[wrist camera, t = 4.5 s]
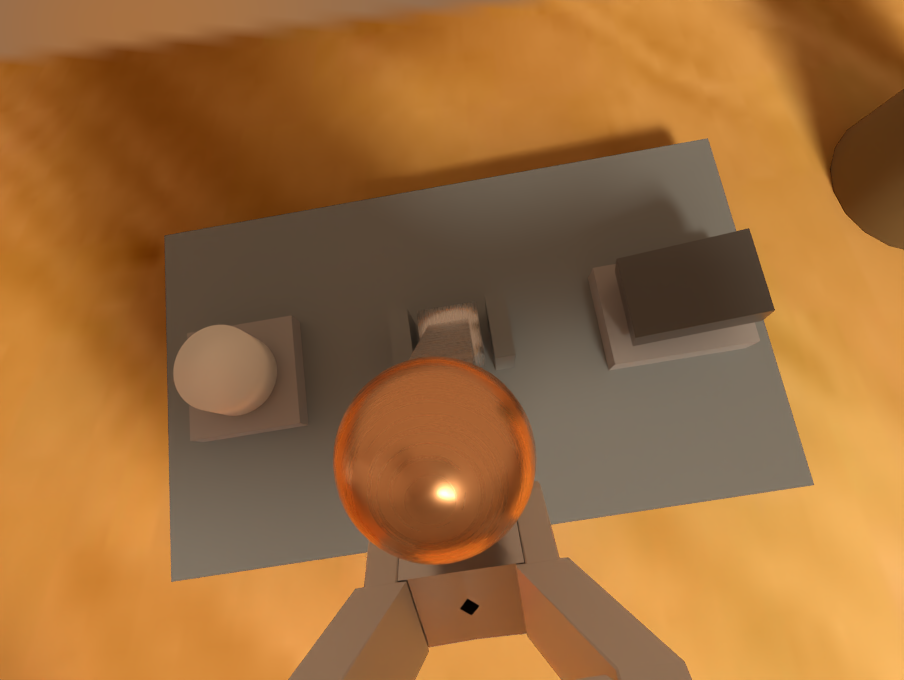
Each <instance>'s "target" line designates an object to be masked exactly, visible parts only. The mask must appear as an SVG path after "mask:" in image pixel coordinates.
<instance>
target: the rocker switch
mask: <svg viewBox="0 0 904 680" xmlns="http://www.w3.org/2000/svg"><path fill="white" fill-rule="evenodd" d="M615 275H616V279H617V283H618V287H619V291H620V296H621V300H622V304H623V308H624V312H625V316H626V320H627V325H628V329H629V333H630V337H631V341H632V345H633V346H636V345H641V344H646V343H652V342H657V341H662V340H667V339H672V338H677V337H682V336H687V335H693V334H698V333H703V332H708V331H713V330H718V329H723V328H728V327H734V326H739V325H744V324H749V323H754V322H759V321H762V320H764V319H765V318H766V317H767V316H768V315H770V314H771V313H772V312H773V311H774V310H775V309H774V306H773V303H772V300H771V297H770V293H769V290H768V287H767V284H766V281H765V278H764V274H763V271H762V268H761V265H760V262H759V258H758V255H757V252H756V249H755V246H754V242H753V239H752V236H751V233H750V230H749V228H748V229H744V230H740V231H735V232H731V233H727V234H722V235H718V236H713V237H709V238H705V239H700V240H696V241H692V242H687V243H683V244H679V245H674V246H670V247H666V248H661V249H657V250H652V251H648V252H644V253H639V254H635V255H631V256H626V257H622V258H618V259H616V266H615Z"/></svg>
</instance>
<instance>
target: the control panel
mask: <svg viewBox="0 0 904 680" xmlns="http://www.w3.org/2000/svg"><path fill="white" fill-rule="evenodd" d="M735 231H736V229H735V225H734V222H733V219H732V216H731V212H730V209H729V206H728V203H727V199H726V196H725V193H724V189H723V186H722V183H721V180H720V176H719V173H718V170H717V167H716V163H715V160H714V157H713V154H712V150H711V147H710V144H709V141H708V139H702V140H697V141H691V142H685V143H680V144H674V145H669V146H663V147H657V148H652V149H646V150H641V151H635V152H629V153H624V154H618V155H613V156H607V157H601V158H596V159H590V160H585V161H579V162H574V163H568V164H562V165H557V166H551V167H546V168H540V169H534V170H529V171H523V172H518V173H512V174H506V175H501V176H495V177H490V178H484V179H478V180H473V181H467V182H462V183H456V184H450V185H445V186H439V187H434V188H428V189H423V190H417V191H411V192H406V193H400V194H395V195H389V196H383V197H378V198H372V199H367V200H361V201H355V202H350V203H344V204H339V205H333V206H327V207H322V208H316V209H311V210H305V211H299V212H294V213H288V214H283V215H277V216H272V217H266V218H260V219H255V220H249V221H244V222H238V223H232V224H227V225H221V226H216V227H210V228H204V229H199V230H193V231H188V232H182V233H176V234H171V235H165V283H166V334H167V385H168V435H169V486H170V537H171V582H173V581H180V580H186V579H193V578H200V577H206V576H213V575H220V574H226V573H233V572H239V571H246V570H253V569H259V568H266V567H273V566H279V565H286V564H293V563H299V562H306V561H312V560H319V559H326V558H332V557H339V556H346V555H352V554H359V553H366V552H368V543H369V540H368V539H367V538H366V537H365V536H364V535H363V534H362V533H361V532H360V531H359V530H358V529H357V527H356V526H355V525H354V524H353V522H352V521H351V520H350V518H349V516H348V515H347V513H346V511H345V509H344V507H343V505H342V503H341V500H340V498H339V494H338V491H337V487H336V484H335V479H334V471H333V452H334V445H335V438H336V434H337V431H338V427H339V425H340V422H341V420H342V418H343V415H344V413H345V411H346V410H347V408H348V406H349V405H350V403H351V401H352V400H353V398H354V397H355V396H356V395H357V393H358V392H359V391H360V390H361V389H362V388H363V387H364V386H365V385H366V384H367V383H368V382H369V381H370V380H372V379H373V378H374V377H376V376H377V375H378V374H380V373H381V372H383V371H384V370H386V369H388V368H390V367H392V366H394V365H396V364H399V363H401V362H404V361H407V360H409V358H410V357H411V355H412V353H413V351H414V350H415V348H416V346H417V344H418V342H419V341H420V336H419V329H418V317H417V314H418V311H422V310H428V309H433V308H439V307H445V306H451V305H457V304H463V303H469V302H476V307H477V313H478V318H479V324H480V330H481V336H482V342H483V348H484V355H485V361H486V365H482V366H479V367H481V368H483V369H485V370H486V371H488V372H490V373H491V374H493V375H494V376H495V377H497V378H498V379H499V380H500V381H501V382H503V383H504V384H505V385H506V386H507V387H508V389H509V390H510V391H511V392H512V393H513V394H514V396H515V397H516V399H517V400H518V401H519V403H520V404H521V406H522V407H523V409H524V411H525V413H526V415H527V417H528V420H529V422H530V425H531V428H532V432H533V436H534V440H535V446H536V457H537V459H536V473H535V479H534V481H538V482H539V483H540V485H541V488H542V492H543V496H544V500H545V504H546V508H547V512H548V516H549V519H550V523H551V524H558V523H565V522H571V521H578V520H585V519H591V518H598V517H605V516H611V515H618V514H625V513H631V512H638V511H644V510H651V509H658V508H664V507H671V506H678V505H684V504H691V503H698V502H704V501H711V500H717V499H724V498H731V497H737V496H744V495H751V494H757V493H764V492H771V491H777V490H784V489H791V488H797V487H804V486H810V485H814V483H813V480H812V477H811V473H810V470H809V467H808V464H807V460H806V457H805V454H804V451H803V447H802V444H801V441H800V438H799V434H798V431H797V428H796V425H795V421H794V418H793V415H792V411H791V408H790V405H789V402H788V398H787V395H786V392H785V389H784V385H783V382H782V379H781V376H780V372H779V369H778V366H777V362H776V359H775V356H774V353H773V349H772V346H771V343H770V340H769V336H768V333H767V330H766V327H765V323H764V320H762V321H759V322H754V323H749V324H744V325H739V326H734V327H728V328H723V329H718V330H713V331H708V332H703V333H698V334H693V335H687V336H682V337H677V338H672V339H667V340H662V341H657V342H652V343H646V344H641V345H636V346H633V345H632V341H631V337H630V333H629V329H628V325H627V320H626V316H625V312H624V308H623V304H622V300H621V296H620V291H619V287H618V283H617V279H616V275H615V266H616V259H618V258H622V257H626V256H631V255H635V254H639V253H644V252H648V251H652V250H657V249H661V248H666V247H670V246H674V245H679V244H683V243H687V242H692V241H696V240H700V239H705V238H709V237H713V236H718V235H722V234H727V233H731V232H735ZM213 325H229V326H233V327H236V328H238V329H240V330H242V331H244V332H245V333H247V334H249V335H251V336H253V337H254V338H256V339H258V340H260V341H261V342H263V343H264V344H265V345H266V346H267V347H268V348H269V349H270V350H271V352H272V354H273V356H274V358H275V361H276V365H277V378H276V382H275V386H274V388H273V390H272V392H271V394H270V396H269V397H268V399H267V400H266V401H265V402H264V403H263V404H262V405H261V406H260V407H258V408H257V409H255V410H253V411H252V412H249V413H247V414H244V415H239V416H228V415H223V414H218V413H213V412H209V411H204V410H200V409H197V408H194V407H192V406H191V405H189V404H188V403H186V402H185V401H184V400H183V399H182V397H181V396H180V395H179V393H178V391H177V389H176V386H175V383H174V377H173V368H174V363H175V359H176V356H177V354H178V352H179V350H180V348H181V347H182V345H183V344H184V343H185V342H186V340H187V339H188V338H189V337H191V336H192V335H193V334H194V333H196V332H197V331H199V330H201V329H203V328H206V327H208V326H213Z"/></svg>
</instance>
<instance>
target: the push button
mask: <svg viewBox="0 0 904 680" xmlns="http://www.w3.org/2000/svg"><path fill="white" fill-rule="evenodd" d="M173 377H174V383H175V386H176V389H177V391H178V393H179V395H180V396H181V397H182V399H183V400H184V401H185V402H186V403H188V404H189V405H191V406H192V407H194V408H197V409H200V410H204V411H209V412H213V413H218V414H223V415H228V416H239V415H244V414H247V413H249V412H252V411H253V410H255V409H257V408H258V407H260V406H261V405H262V404H263V403H264V402H265V401H266V400H267V399H268V397H269V396H270V394H271V392H272V390H273V388H274V386H275V382H276V378H277V365H276V361H275V358H274V356H273V354H272V352H271V350H270V349H269V348H268V347H267V346H266V345H265V344H264V343H263V342H261V341H260V340H258V339H256V338H254V337H253V336H251V335H249V334H247V333H245V332H244V331H242V330H240V329H238V328H236V327H233V326H229V325H213V326H208V327H206V328H203V329H201V330H199V331H197V332H196V333H194V334H193V335H192V336H191V337H189V338H188V339H187V340H186V342H185V343H184V344H183V345H182V347H181V348H180V350H179V352H178V354H177V356H176V359H175V363H174V368H173Z"/></svg>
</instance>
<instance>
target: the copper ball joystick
mask: <svg viewBox="0 0 904 680" xmlns="http://www.w3.org/2000/svg"><path fill="white" fill-rule="evenodd" d="M417 317H418V329H419V336H420V341H419V342H418V344H417V346H416V348H415V350H414V351H413V353H412V355H411V357H410V358H409V360H407V361H404V362H401V363H399V364H396V365H394V366H392V367H390V368H388V369H386V370H384V371H383V372H381V373H380V374H378V375H377V376H376V377H374V378H373V379H372V380H370V381H369V382H368V383H367V384H366V385H365V386H364V387H363V388H362V389H361V390H360V391H359V392H358V393H357V395H356V396H355V397H354V398H353V400H352V401H351V403H350V405H349V406H348V408H347V410H346V411H345V413H344V415H343V418H342V420H341V422H340V425H339V427H338V431H337V434H336V438H335V445H334V452H333V471H334V479H335V484H336V487H337V491H338V494H339V498H340V500H341V503H342V505H343V507H344V509H345V511H346V513H347V515H348V516H349V518H350V520H351V521H352V522H353V524H354V525H355V526H356V527H357V529H358V530H359V531H360V532H361V533H362V534H363V535H364V536H365V537H366V538H367V539H368V540H369V541H370V542H372V543H373V544H374V545H376V546H377V547H378V548H380V549H381V550H383V551H385V552H387V553H388V554H390V555H393V556H395V557H397V558H400V559H403V560H406V561H409V562H413V563H420V564H431V565H439V564H449V563H454V562H459V561H462V560H465V559H468V558H471V557H473V556H475V555H477V554H479V553H481V552H483V551H485V550H487V549H488V548H490V547H491V546H493V545H494V544H496V543H497V542H498V541H499V540H500V539H501V538H503V537H504V536H505V535H506V534H507V533H508V532H509V530H510V529H511V528H512V527H513V526H514V524H515V523H516V522H517V520H518V519H519V517H520V516H521V514H522V512H523V511H524V509H525V507H526V505H527V502H528V500H529V498H530V495H531V492H532V489H533V484H534V479H535V473H536V459H537V457H536V446H535V440H534V436H533V432H532V428H531V425H530V422H529V420H528V417H527V415H526V413H525V411H524V409H523V407H522V406H521V404H520V403H519V401H518V400H517V399H516V397H515V396H514V394H513V393H512V392H511V391H510V390H509V389H508V387H507V386H506V385H505V384H504V383H503V382H501V381H500V380H499V379H498V378H497V377H495V376H494V375H493V374H491V373H490V372H488V371H486V370H485V369H483V368H481V367H479V366H482V365H486V361H485V355H484V348H483V342H482V336H481V330H480V324H479V318H478V313H477V307H476V302H469V303H463V304H457V305H451V306H445V307H439V308H433V309H428V310H422V311H418V314H417Z"/></svg>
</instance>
